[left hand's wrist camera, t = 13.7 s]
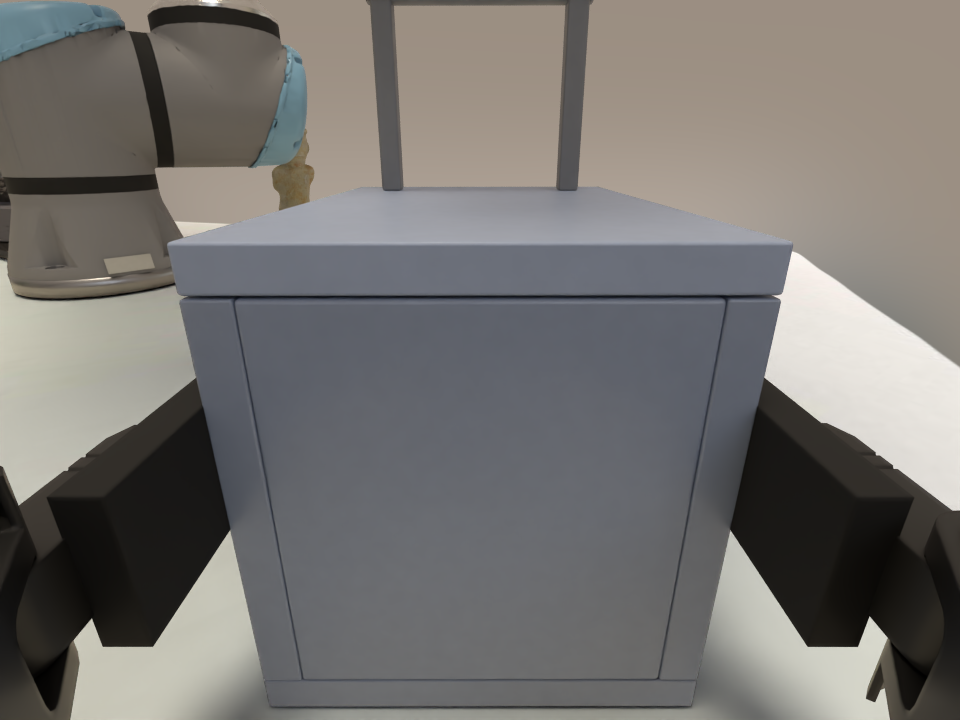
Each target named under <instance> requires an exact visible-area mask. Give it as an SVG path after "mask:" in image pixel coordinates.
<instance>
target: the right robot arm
mask: <svg viewBox="0 0 960 720" xmlns="http://www.w3.org/2000/svg"><path fill="white" fill-rule="evenodd" d="M147 16H148V21H149V26H150V31H151V33H141V32H132V31H126V30H125V23H124V22H123V21H122V20H121V18H120V16H119V14H118V13H117V12H116V11H114V10H112V9H110V8H107V7H104V6H100V5H87V4H85V3H78V2H64V1H27V2H11V3H2V4H0V171H1V174H2V177H3V179H4V182H5V185H6V188H7V192H8V195H9V198H10V202H11V220H10V234H9V248H8V252H7V251H3V250H0V257H3V258H6V259H8V263H7V269H8V277H9V280H10V282H11V285H12V288H13V291H14V292H15V293H16V294H19V295H22V296H26V297H34V298H80V297H93V296H104V295H113V294H121V293H128V292H134V291H140V290H146V289H151V288H156V287H160V286H165V285H169V284H172V283H175V279H174V275H173V270H172V266H171V261H170V257H169V252H168V248H167V244H168V243H169V242H171V241H175V240H178V239H182V238H184V237H183V236H182V234H181V232H180V230H179V229H178V227H177V225H176V224H175V222H174V220H173V218H172V217H171V215H170V213H169V211H168V210H167V208H166V206H165V205H164V203H163V201H162V198H161V196H160V192H159V188H158V183H157V179H156V174H155V168H158V167H249V168H256V167H257V166H267V165H282V164H286V163H288V162H289V161H291V160H292V159H293V158H294V157H295V156H296V154H297V153H298V151H299V148H300V146H301V143H302V139H303V136H304V130H305V124H306V115H307V85H306V75H305V70H304V67H303V66H302V59H301V57H300V55H299V53H298V52H297V51H296V50H295V49H293V48H291V47H290V46H288V45H281V41H280V34H279V27H278V23H277V20H276V19H275V18H274V17H273V16H272V15H271V14H270V13H269V12H268V11H267V10H266V9H265V8H264V7H263V6H262V5H261V3H260V2H259V0H156V1H155V2H154V3H153V4H152V6H151V7H150V8H149V9H148V11H147Z"/></svg>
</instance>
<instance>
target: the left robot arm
mask: <svg viewBox="0 0 960 720" xmlns="http://www.w3.org/2000/svg"><path fill="white" fill-rule="evenodd" d="M730 530H731V531H732V533H733V534H734V536H735V537H736V539H737V540H738V542H739V544H740V545H741V547H742V548H743V550H744V551H745V553H746V554H747V556H748V557H749V559H750V560H751V562H752V563H753V565H754V566H755V568H756V569H757V571H758V572H759V574H760V575H761V577H762V578H763V580H764V581H765V583H766V584H767V586H768V587H769V589H770V590H771V592H772V593H773V595H774V596H775V598H776V600H777V601H778V603H779V604H780V606H781V607H782V609H783V610H784V612H785V613H786V615H787V616H788V618H789V619H790V621H791V622H792V624H793V625H794V627H795V628H796V630H797V631H798V633H799V634H800V636H801V637H802V639H803V640H804V642H805V643H806V645H807V646H808V647H858V645H859V643H860V640H861V637H862V635H863V632H864V629H865V627H866V624H867V621H868V619H869V616H870V617H871V618H872V619H873V621H874V622H875V623H876V624H877V625H878V627H879V628H880V629H881V630H882V631H883V633H884V634H885V635H886V636H887V637H888V639H887V641H886V644H885V646H884V649H883V651H882V654H881V656H880V659H879V661H878V664H877V666H876V669H875V671H874V673H873V676H872V678H871V681H870V683H869V686H868V690H867V696H866V699H868V700H870V701H873V702H875V701H876V699H877V697H878V694H879V692H880V690H881V689H884V688H885V692H886V698H887V704H888V710H889V716H890V720H960V511H952V510H951V509H949V508H948V507H947V506H945V505H944V504H943V503H941V502H940V501H939V500H938V499H936V498H935V497H934V496H932V495H931V494H930V493H928V492H927V491H926V490H924V489H923V488H922V487H920V486H919V485H918V484H917V483H915V482H914V481H913V480H911V479H910V478H909V477H907V476H906V475H905V474H903V473H902V472H901V471H899V470H898V469H893V465H892V464H890V463H889V462H888V461H886V460H885V459H884V458H882V457H881V456H876V452H874V451H873V450H872V449H871V448H869V447H868V446H867V445H865V444H864V443H863V442H861V441H860V440H859V439H857V438H856V437H855V436H853V435H850V434H848V433H846V432H844V431H842V430H840V429H838V428H836V427H834V426H832V425H829V424H827V423H820V422H819V421H818V420H817V419H815V418H814V417H813V416H812V415H810V414H809V413H808V412H807V411H805V410H804V409H803V408H802V407H800V406H799V405H798V404H797V403H795V402H794V401H793V400H792V399H790V398H789V397H788V396H787V395H785V394H784V393H783V392H782V391H780V390H779V389H778V388H776V387H775V386H774V385H773V384H771V383H770V382H769V381H768V380H766V379H765V378H764V380H763V385H762V389H761V394H760V398H759V403H758V406H757V411H756V415H755V419H754V424H753V428H752V433H751V437H750V442H749V446H748V451H747V455H746V460H745V464H744V469H743V473H742V478H741V482H740V487H739V491H738V496H737V500H736V505H735V509H734V514H733V518H732V523H731V527H730ZM229 531H230V525H229V520H228V516H227V511H226V507H225V502H224V498H223V493H222V489H221V484H220V480H219V475H218V471H217V466H216V462H215V458H214V453H213V449H212V444H211V440H210V435H209V431H208V426H207V422H206V417H205V413H204V408H203V406H202V401H201V397H200V392H199V388H198V383H197V379H196V378H195V379H194V380H193V381H192V382H190V383H189V384H188V385H187V386H185V387H184V388H183V389H182V390H180V391H179V392H178V393H177V394H175V395H174V396H173V397H172V398H170V399H169V400H168V401H167V402H165V403H164V404H163V405H162V406H160V407H159V408H158V409H157V410H155V411H154V412H153V413H151V414H150V415H149V416H148V417H146V418H145V419H144V420H143V421H141V422H140V423H139V424H138V425H133V426H131V427H129V428H127V429H125V430H123V431H121V432H119V433H117V434H115V435H113V436H110V437H108V438H106V439H105V440H104V441H102V442H101V443H100V444H99V445H97V446H96V447H95V448H93V449H92V450H91V451H89V452H88V453H87V454H86V457H82V458H80V459H79V460H78V461H76V462H75V463H74V464H72V465H71V466H70V467H69V469H68V471H63V472H62V473H61V474H59V475H58V476H57V477H56V478H54V479H53V480H52V481H50V482H49V483H48V484H46V485H45V486H44V487H43V488H41V489H40V490H39V491H37V492H36V493H35V494H33V495H32V496H31V497H29V498H28V499H27V500H26V501H24V502H23V503H22V504H20V505H19V506H18V503H17V501H16V498H15V496H14V493H13V491H12V488H11V486H10V483H9V481H8V479H7V476H6V474H5V471H4V469H3V467H2V466H0V720H70V718H71V711H72V705H73V699H74V693H75V687H76V681H77V675H78V669H79V657H78V651H77V649H76V646H75V644H74V641H73V640H74V639H75V638H76V636H77V635H78V634H79V633H80V632H81V630H82V629H83V628H84V627H85V626H86V624H87V623H88V622H89V621H90V620H91V618H92V619H93V622H94V625H95V627H96V630H97V633H98V635H99V638H100V641H101V643H102V646H103V647H153V646H154V644H155V643H156V641H157V640H158V638H159V637H160V635H161V634H162V632H163V631H164V629H165V628H166V626H167V625H168V623H169V622H170V620H171V619H172V617H173V616H174V614H175V613H176V611H177V609H178V608H179V606H180V605H181V603H182V602H183V600H184V599H185V597H186V596H187V594H188V593H189V591H190V590H191V588H192V587H193V585H194V584H195V582H196V581H197V579H198V578H199V576H200V575H201V573H202V572H203V570H204V569H205V567H206V566H207V564H208V563H209V561H210V560H211V558H212V557H213V555H214V553H215V552H216V550H217V549H218V547H219V546H220V544H221V543H222V541H223V540H224V538H225V537H226V535H227V534H228V532H229Z"/></svg>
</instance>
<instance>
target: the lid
mask: <svg viewBox="0 0 960 720" xmlns="http://www.w3.org/2000/svg"><path fill="white" fill-rule="evenodd" d="M366 1H367V3H368V5H370V10H371V24H372V40H373V54H374V69H375V83H376V99H377V113H378V128H379V143H380V158H381V173H382V187H361V188H357V189H354V190H350V191H347V192H343V193H340V194H336V195H333V196H329V197H325V198H322V199H318V200H315V201H311V202H308V203H304V204H301V205H297V206H294V207H290V208H287V209H283V210H280V211H276V212H273V213H269V214H266V215H262V216H259V217H255V218H252V219H248V220H245V221H242V222H238V223H234V224H231V225H227V226H224V227H220V228H217V229H213V230H210V231H206V232H203V233H199V234H196V235H192V236H189V237H185V238H182V239H178V240H175V241H171V242H169V243H168V244H167V248H168V252H169V257H170V261H171V266H172V270H173V275H174V279H175V284H176V288H177V293H178V294H179V295H181V296H581V295H780V294H782V292H783V289H784V284H785V280H786V275H787V271H788V266H789V262H790V257H791V253H792V248H793V243H792V242H791V241H788V240H785V239H781V238H777V237H774V236H771V235H767V234H764V233H760V232H756V231H753V230H749V229H746V228H742V227H738V226H735V225H732V224H728V223H724V222H721V221H717V220H714V219H710V218H707V217H703V216H700V215H696V214H693V213H689V212H685V211H682V210H678V209H675V208H671V207H668V206H664V205H661V204H657V203H654V202H650V201H646V200H643V199H639V198H636V197H632V196H629V195H625V194H622V193H618V192H615V191H611V190H608V189H604V188H600V187H578V172H579V157H580V141H581V126H582V110H583V95H584V80H585V65H586V50H587V34H588V19H589V5H590V4H592V2H593V0H366ZM396 5H398V6H400V5H401V6H406V5H566V7H565V27H564V47H563V67H562V86H561V106H560V125H559V145H558V165H557V185H556V187H403V170H402V151H401V132H400V114H399V95H398V76H397V58H396V39H395V20H394V6H396Z"/></svg>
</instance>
